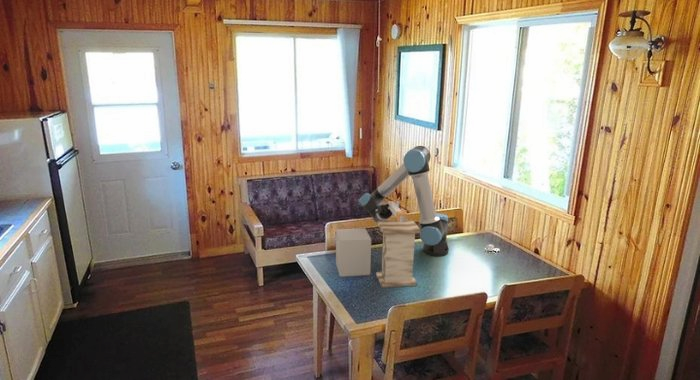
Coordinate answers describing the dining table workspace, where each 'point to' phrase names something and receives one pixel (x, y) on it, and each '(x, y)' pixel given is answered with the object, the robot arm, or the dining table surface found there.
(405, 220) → the plug bar
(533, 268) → the dining table surface
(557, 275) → the dining table surface
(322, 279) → the dining table surface
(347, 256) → the tall block
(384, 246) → the parchment scroll
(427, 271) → the dining table surface
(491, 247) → the teacup and saucer
